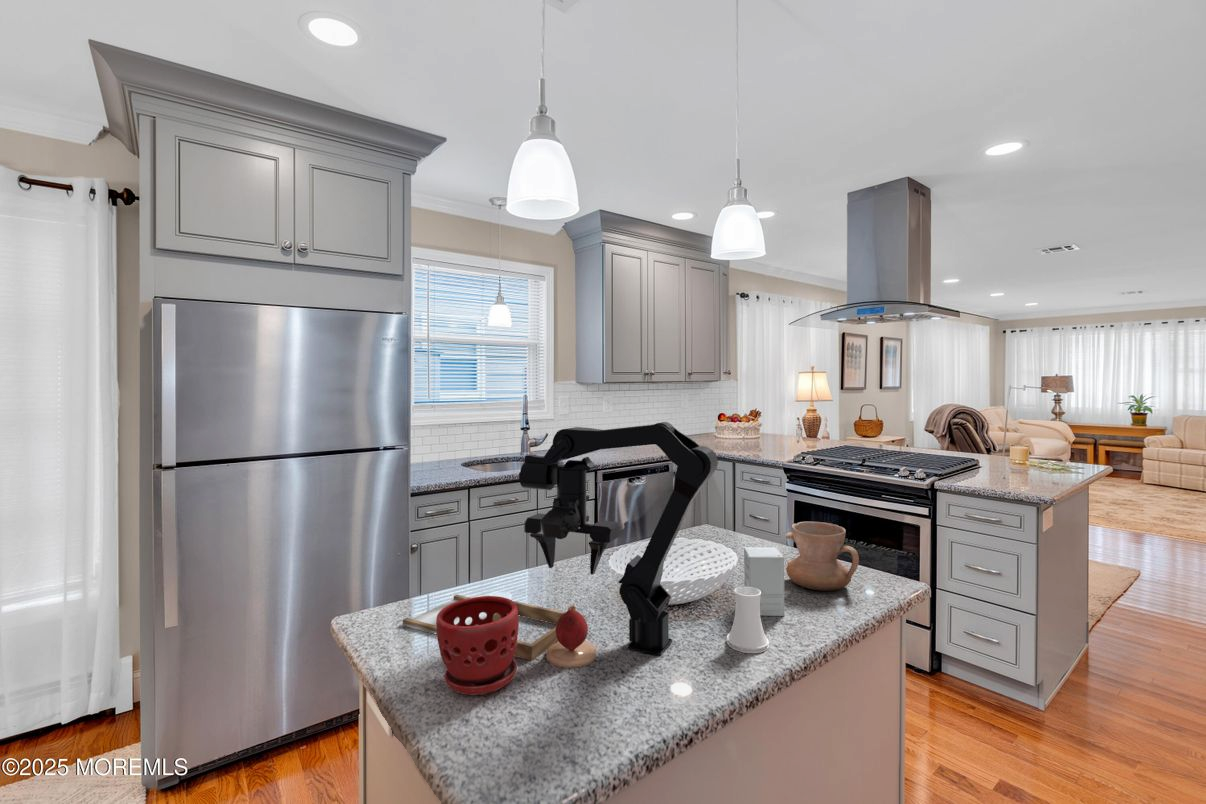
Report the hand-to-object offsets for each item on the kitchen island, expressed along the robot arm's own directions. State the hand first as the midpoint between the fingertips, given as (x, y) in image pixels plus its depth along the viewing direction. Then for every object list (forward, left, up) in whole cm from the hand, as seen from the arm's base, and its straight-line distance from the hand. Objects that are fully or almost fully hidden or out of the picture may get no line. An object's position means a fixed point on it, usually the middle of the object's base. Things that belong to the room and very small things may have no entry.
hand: (571, 570), depth 110 cm
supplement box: (-31, -29, -12) cm, 44 cm away
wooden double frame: (+16, +5, -12) cm, 21 cm away
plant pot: (+4, +23, -12) cm, 26 cm away
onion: (-5, +8, -11) cm, 15 cm away
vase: (-32, -11, -12) cm, 36 cm away
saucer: (-5, +8, -12) cm, 16 cm away
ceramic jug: (-40, -50, -12) cm, 65 cm away
